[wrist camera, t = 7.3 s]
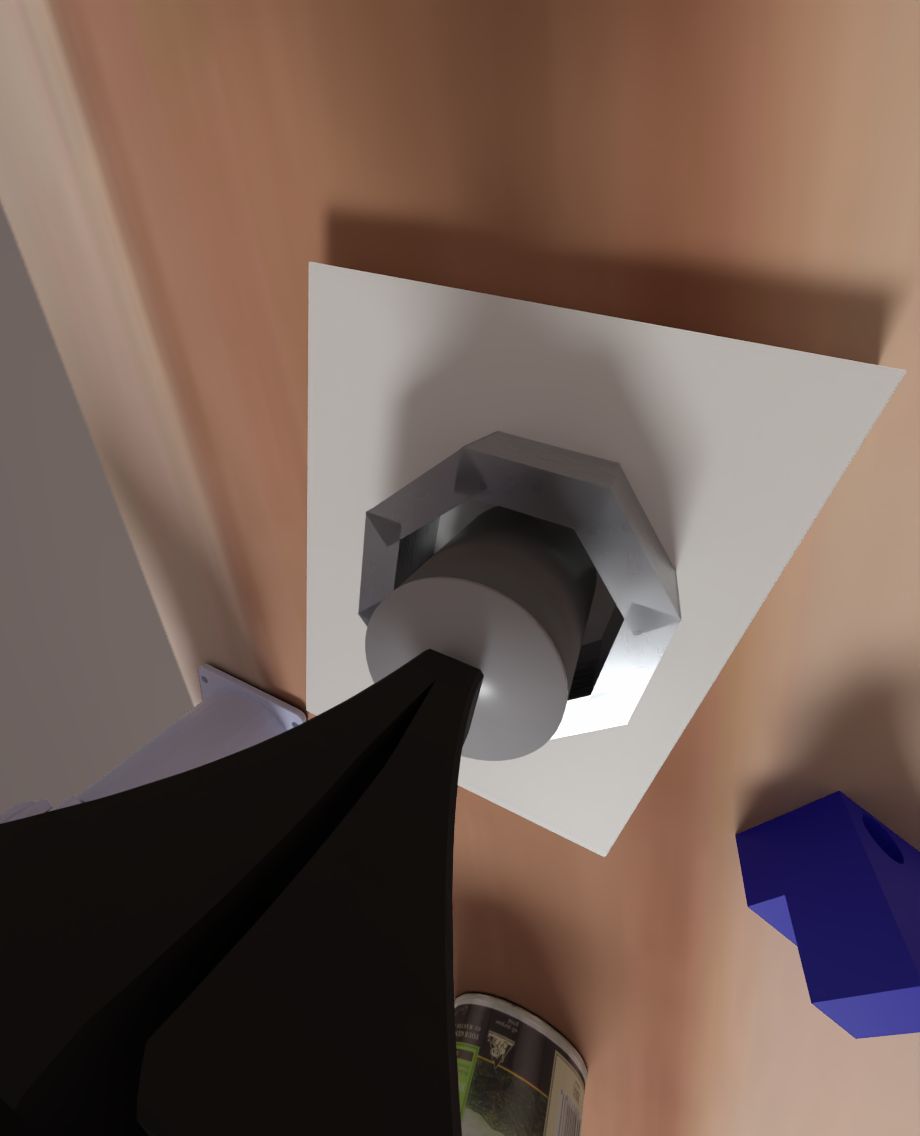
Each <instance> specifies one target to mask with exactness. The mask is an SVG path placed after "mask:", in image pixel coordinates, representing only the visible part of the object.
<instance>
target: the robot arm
mask: <svg viewBox="0 0 920 1136" xmlns="http://www.w3.org/2000/svg"><path fill="white" fill-rule="evenodd" d="M198 673H199V679H200V686H201V692H202V699H203V701H202V702H201V703H200V704H198V705H197V706H196V707H194V708H193V709H192V710H191V711H190V712H188V713H187V714H185V715H184V716H183V717H181V718H180V719H179V720H177V721H176V722H175V723H173V724H172V725H171V726H169V727H168V728H167V729H166V730H164V731H163V732H161V733H160V734H159V735H157V736H156V737H155V738H154V739H152V740H151V741H150V742H148V743H147V744H146V745H144V746H143V747H142V748H140V749H139V750H138V751H136V752H135V753H134V754H132V755H131V756H130V757H129V758H127V759H126V760H125V761H123V762H122V763H121V764H119V765H118V766H117V767H115V768H114V769H113V770H111V771H110V772H109V773H107V774H106V775H105V776H103V777H102V778H101V779H99V780H98V781H97V782H96V783H94V784H93V785H92V786H90V787H89V788H88V789H86V790H85V791H83V792H82V793H81V794H79V795H78V796H77V797H75V796H72V797H71V798H69V799H68V800H67V801H66V802H64V803H63V804H62V805H60V806H59V807H58V808H56V809H55V810H53V811H49V810H51V809H52V808H53V807H52V805H51V804H50V802H49V801H48V800H47V799H42V800H39V801H37V802H36V801H28V802H21V803H19V804H17V805H15V806H13V807H12V808H10V809H8V810H7V811H5V812H3V813H2V814H0V1136H462V1128H461V1114H460V1100H459V1084H458V1066H457V1049H456V1030H455V1005H454V980H453V918H452V881H453V845H454V824H455V809H456V797H457V787H458V776H459V768H460V760H461V754H462V748H463V745H464V743H465V740H466V738H467V735H468V733H469V729H470V726H471V722H472V718H473V715H474V711H475V707H476V704H477V700H478V696H479V693H480V689H481V685H482V681H483V678H484V675H483V673H482V671H481V669H478V668H476V667H473V666H471V665H469V664H466V663H464V662H461V661H459V660H456V659H454V658H452V657H449V656H447V655H444V654H442V653H440V652H437V651H435V650H432V649H428V650H425V651H424V652H422V653H421V654H419V655H418V656H416V657H415V658H413V659H412V660H410V661H409V662H407V663H406V664H404V665H403V666H401V667H400V668H398V669H397V670H395V671H394V672H392V673H391V674H389V675H387V676H386V677H384V678H383V679H381V680H379V681H378V682H376V683H374V684H373V685H371V686H369V687H368V688H366V689H364V690H363V691H361V692H359V693H358V694H356V695H354V696H353V697H351V698H349V699H347V700H346V701H344V702H342V703H340V704H338V705H336V706H334V707H333V708H331V709H329V710H327V711H325V712H323V713H321V714H319V715H317V716H316V717H314V718H312V719H310V720H308V721H306V716H305V714H304V713H303V712H302V711H301V710H299V709H297V708H295V707H293V706H291V705H289V704H287V703H285V702H283V701H281V700H279V699H277V698H275V697H273V696H271V695H269V694H267V693H265V692H263V691H261V690H259V689H257V688H255V687H253V686H251V685H249V684H247V683H245V682H243V681H241V680H239V679H237V678H235V677H233V676H231V675H228V674H226V673H224V672H222V671H220V670H218V669H216V668H214V667H212V666H210V665H208V664H203V665H201V666H200V667H199V668H198ZM48 811H49V812H48Z"/></svg>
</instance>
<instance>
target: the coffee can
mask: <svg viewBox="0 0 920 1136" xmlns="http://www.w3.org/2000/svg"><path fill="white" fill-rule="evenodd" d="M454 1005H455V1030H456V1049H457V1066H458V1084H459V1100H460V1114H461V1128H462V1136H580V1134H581V1123H582V1112H583V1102H584V1093H585V1083H586V1080H587V1072H588V1071H587V1069H586V1066H585V1063H584V1061H583V1059H582V1058H581V1056H580V1054H579V1053H578V1052H577V1050H576V1049H575V1048H574V1047H573V1046H572V1045H571V1044H570V1043H569V1042H568V1041H567V1040H566V1039H565V1038H564V1037H563V1036H562V1035H561V1034H560V1033H559V1032H558V1031H556V1030H555V1029H553V1028H552V1027H551V1026H550V1025H548V1024H547V1023H546V1022H544V1021H543V1020H541V1019H540V1018H538V1017H537V1016H535V1015H534V1014H532V1013H530V1012H528V1011H527V1010H525V1009H523V1008H521V1007H519V1006H517V1005H515V1004H513V1003H510V1002H508V1001H506V1000H504V999H500V998H497V997H494V996H490V995H486V994H481V993H465V994H463V995H461V996H459V997H457V998H456V1000H455V1002H454Z"/></svg>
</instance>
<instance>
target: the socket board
mask: <svg viewBox="0 0 920 1136" xmlns="http://www.w3.org/2000/svg"><path fill="white" fill-rule="evenodd" d="M906 371H907V370H901V369H896V368H891V367H885V366H880V365H874V364H869V363H863V362H858V361H852V360H847V359H841V358H836V357H830V356H825V355H819V354H814V353H808V352H803V351H797V350H792V349H786V348H781V347H775V346H770V345H764V344H759V343H753V342H748V341H742V340H737V339H731V338H726V337H721V336H715V335H710V334H704V333H699V332H693V331H688V330H682V329H677V328H671V327H666V326H660V325H655V324H649V323H644V322H638V321H633V320H627V319H622V318H616V317H611V316H605V315H600V314H594V313H589V312H583V311H578V310H572V309H567V308H562V307H556V306H551V305H545V304H540V303H534V302H529V301H523V300H518V299H512V298H507V297H501V296H496V295H490V294H485V293H479V292H474V291H468V290H463V289H457V288H452V287H446V286H441V285H435V284H430V283H424V282H419V281H413V280H408V279H402V278H397V277H392V276H386V275H381V274H375V273H370V272H364V271H359V270H353V269H348V268H342V267H337V266H331V265H326V264H320V263H315V262H309V321H308V495H307V668H306V711H308V712H310V713H312V714H314V715H316V716H317V715H319V714H321V713H323V712H325V711H327V710H329V709H331V708H333V707H334V706H336V705H338V704H340V703H342V702H344V701H346V700H347V699H349V698H351V697H353V696H354V695H356V694H358V693H359V692H361V691H363V690H364V689H366V688H368V687H369V686H371V685H373V684H374V682H373V680H372V677H371V674H370V672H369V668H368V664H367V660H366V653H365V637H366V631H367V627H368V624H369V621H370V618H371V616H372V614H373V613H374V611H375V609H376V608H377V607H378V605H379V604H380V603H381V602H382V601H383V600H384V599H385V598H386V597H387V596H388V595H390V594H391V593H392V592H393V591H394V590H395V589H396V588H397V587H399V586H400V585H401V584H402V583H403V582H404V581H405V580H406V579H408V578H409V577H410V576H411V575H412V574H413V573H414V572H415V571H416V570H418V569H419V568H420V567H421V566H422V565H423V564H424V563H425V562H427V561H428V560H429V559H430V558H431V557H432V556H433V555H434V554H436V553H437V552H438V551H439V550H440V549H441V548H442V547H443V546H445V545H446V544H447V543H448V542H449V541H450V540H451V539H452V538H454V537H455V536H456V535H457V534H458V533H459V532H460V531H461V530H463V529H464V528H465V527H466V526H467V525H468V524H469V523H470V522H472V521H473V520H474V519H475V518H476V517H477V516H478V515H480V514H482V513H483V512H485V511H487V510H489V509H491V508H493V507H496V506H502V507H505V508H508V509H511V510H515V511H518V512H521V513H524V514H528V515H531V516H534V517H537V518H541V519H544V520H547V521H550V522H553V523H557V524H560V525H563V526H566V527H570V528H573V529H574V530H575V532H576V534H577V535H578V537H579V539H580V541H581V543H582V544H583V546H584V548H585V550H586V551H587V553H588V555H589V557H590V559H591V560H592V562H593V564H594V566H595V567H596V571H597V581H596V588H595V593H594V597H593V601H592V605H591V609H590V613H589V617H588V621H587V625H586V629H585V633H584V637H583V641H582V645H581V649H580V653H579V657H578V661H577V665H576V669H575V673H574V677H573V681H572V685H571V689H570V693H569V697H568V701H567V705H566V709H565V712H564V715H563V719H562V722H561V724H560V726H559V728H558V729H557V731H556V733H555V734H554V735H553V736H552V738H551V739H550V740H549V741H548V742H547V743H546V744H545V745H543V746H542V747H541V748H539V749H538V750H536V751H534V752H533V753H530V754H528V755H526V756H523V757H520V758H516V759H512V760H504V761H485V760H476V759H471V758H467V757H463V756H461V760H460V768H459V776H458V785H459V786H461V787H463V788H465V789H467V790H469V791H471V792H473V793H475V794H477V795H479V796H481V797H483V798H485V799H487V800H489V801H491V802H493V803H495V804H497V805H499V806H501V807H503V808H505V809H507V810H509V811H511V812H514V813H516V814H518V815H520V816H522V817H524V818H526V819H528V820H530V821H532V822H534V823H536V824H538V825H540V826H542V827H544V828H546V829H548V830H550V831H552V832H554V833H556V834H558V835H560V836H562V837H564V838H566V839H568V840H570V841H572V842H574V843H577V844H579V845H581V846H583V847H585V848H587V849H589V850H591V851H593V852H595V853H597V854H599V855H601V856H603V857H606V855H607V853H608V852H609V850H610V848H611V847H612V845H613V844H614V842H615V840H616V839H617V837H618V836H619V834H620V832H621V831H622V829H623V828H624V826H625V824H626V823H627V821H628V819H629V818H630V816H631V815H632V813H633V811H634V810H635V808H636V807H637V805H638V803H639V802H640V800H641V798H642V797H643V795H644V794H645V792H646V790H647V789H648V787H649V786H650V784H651V782H652V781H653V779H654V778H655V776H656V774H657V773H658V771H659V769H660V768H661V766H662V765H663V763H664V761H665V760H666V758H667V757H668V755H669V753H670V752H671V750H672V749H673V747H674V745H675V744H676V742H677V740H678V739H679V737H680V736H681V734H682V732H683V731H684V729H685V728H686V726H687V724H688V723H689V721H690V720H691V718H692V716H693V715H694V713H695V711H696V710H697V708H698V707H699V705H700V703H701V702H702V700H703V699H704V697H705V695H706V694H707V692H708V691H709V689H710V687H711V686H712V684H713V682H714V681H715V679H716V678H717V676H718V674H719V673H720V671H721V670H722V668H723V666H724V665H725V663H726V661H727V660H728V658H729V657H730V655H731V653H732V652H733V650H734V649H735V647H736V645H737V644H738V642H739V641H740V639H741V637H742V636H743V634H744V632H745V631H746V629H747V628H748V626H749V624H750V623H751V621H752V620H753V618H754V616H755V615H756V613H757V612H758V610H759V608H760V607H761V605H762V603H763V602H764V600H765V599H766V597H767V595H768V594H769V592H770V591H771V589H772V587H773V586H774V584H775V583H776V581H777V579H778V578H779V576H780V574H781V573H782V571H783V570H784V568H785V566H786V565H787V563H788V562H789V560H790V558H791V557H792V555H793V554H794V552H795V550H796V549H797V547H798V545H799V544H800V542H801V541H802V539H803V537H804V536H805V534H806V533H807V531H808V529H809V528H810V526H811V525H812V523H813V521H814V520H815V518H816V516H817V515H818V513H819V512H820V510H821V508H822V507H823V505H824V504H825V502H826V500H827V499H828V497H829V495H830V494H831V492H832V491H833V489H834V487H835V486H836V484H837V483H838V481H839V479H840V478H841V476H842V475H843V473H844V471H845V470H846V468H847V466H848V465H849V463H850V462H851V460H852V458H853V457H854V455H855V454H856V452H857V450H858V449H859V447H860V446H861V444H862V442H863V441H864V439H865V437H866V436H867V434H868V433H869V431H870V429H871V428H872V426H873V425H874V423H875V421H876V420H877V418H878V417H879V415H880V413H881V412H882V410H883V408H884V407H885V405H886V404H887V402H888V400H889V399H890V397H891V396H892V394H893V392H894V391H895V389H896V388H897V386H898V384H899V383H900V381H901V379H902V378H903V376H904V375H905V373H906Z"/></svg>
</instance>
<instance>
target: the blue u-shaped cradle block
mask: <svg viewBox="0 0 920 1136" xmlns="http://www.w3.org/2000/svg"><path fill="white" fill-rule="evenodd" d="M735 836H736V842H737V847H738V853H739V859H740V865H741V871H742V876H743V882H744V888H745V894H746V899H747V905H748V907H749V908H750V909H751V910H753V911H754V912H755V913H756V914H758V915H759V916H760V917H761V918H763V919H764V920H765V921H766V922H768V923H769V924H770V925H771V926H773V927H774V928H775V929H777V930H778V931H779V932H780V933H782V934H783V935H784V936H785V937H787V938H788V939H789V940H790V941H792V942H793V943H794V944H795V945H797V946H798V950H799V954H800V958H801V963H802V967H803V971H804V975H805V979H806V983H807V987H808V991H809V995H810V999H811V1003H812V1004H813V1005H814V1006H816V1007H817V1008H818V1009H819V1010H821V1011H822V1012H823V1013H824V1014H826V1015H827V1016H828V1017H829V1018H831V1019H832V1020H833V1021H834V1022H836V1023H837V1024H838V1025H839V1026H841V1027H842V1028H843V1029H844V1030H846V1031H847V1032H848V1033H849V1034H851V1035H852V1036H853V1037H854V1038H856V1039H858V1038H868V1037H878V1036H887V1035H897V1034H907V1033H916V1032H920V852H919V851H917V850H916V849H915V848H914V847H912V846H911V845H910V844H908V843H907V842H906V841H904V840H903V839H902V838H900V837H899V836H898V835H897V834H895V833H894V832H893V831H891V830H890V829H889V828H887V827H886V826H885V825H883V824H882V823H881V822H880V821H878V820H877V819H876V818H874V817H873V816H872V815H870V814H869V813H868V812H866V811H865V810H864V809H863V808H861V807H860V806H859V805H857V804H856V803H855V802H853V801H852V800H851V799H850V798H848V797H847V796H846V795H844V794H843V793H842V792H840V791H838V792H835V793H833V794H831V795H828V796H826V797H824V798H821V799H819V800H817V801H814V802H812V803H809V804H807V805H805V806H802V807H800V808H798V809H795V810H793V811H791V812H788V813H786V814H784V815H781V816H779V817H777V818H774V819H772V820H770V821H767V822H765V823H762V824H760V825H758V826H755V827H753V828H751V829H748V830H746V831H744V832H741V833H739V834H737V835H735Z"/></svg>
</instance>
